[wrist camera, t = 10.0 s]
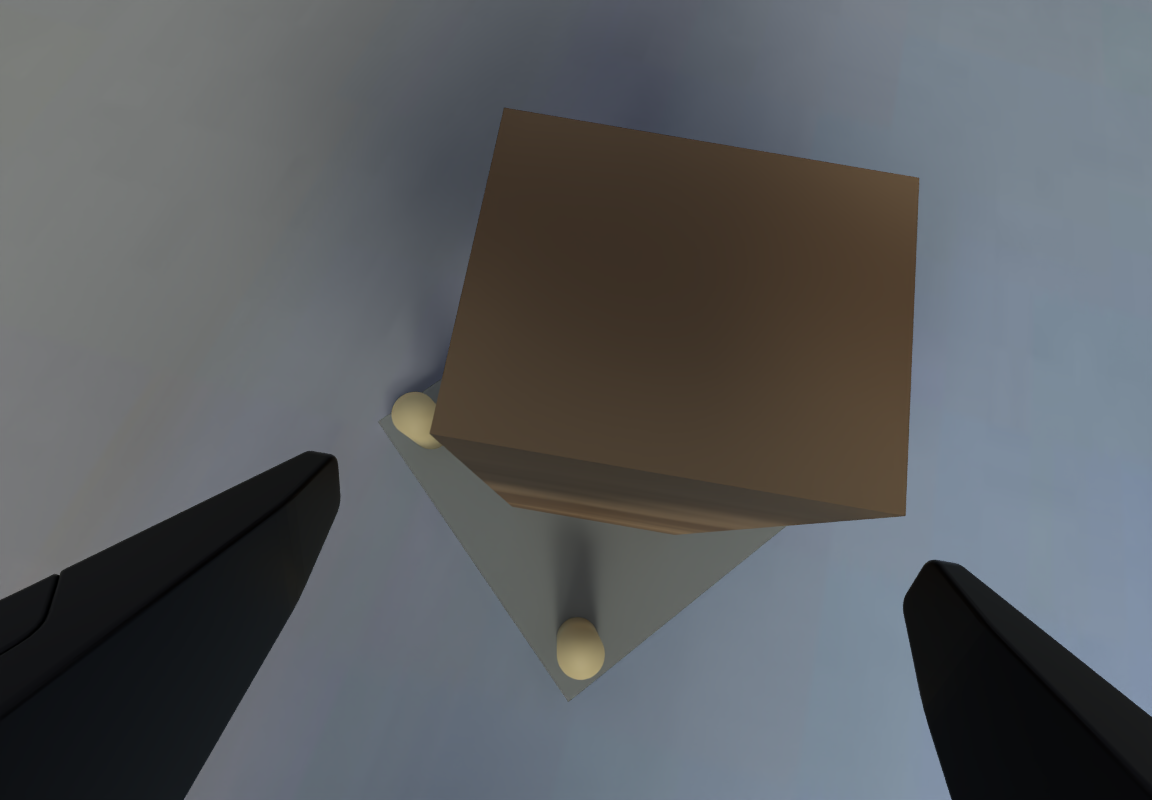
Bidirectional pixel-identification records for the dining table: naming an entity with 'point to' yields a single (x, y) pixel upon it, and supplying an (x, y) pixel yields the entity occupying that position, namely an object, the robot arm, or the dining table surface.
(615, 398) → the walnut shelf block
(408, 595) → the dining table surface
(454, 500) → the peg plate
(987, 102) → the dining table surface
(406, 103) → the dining table surface
